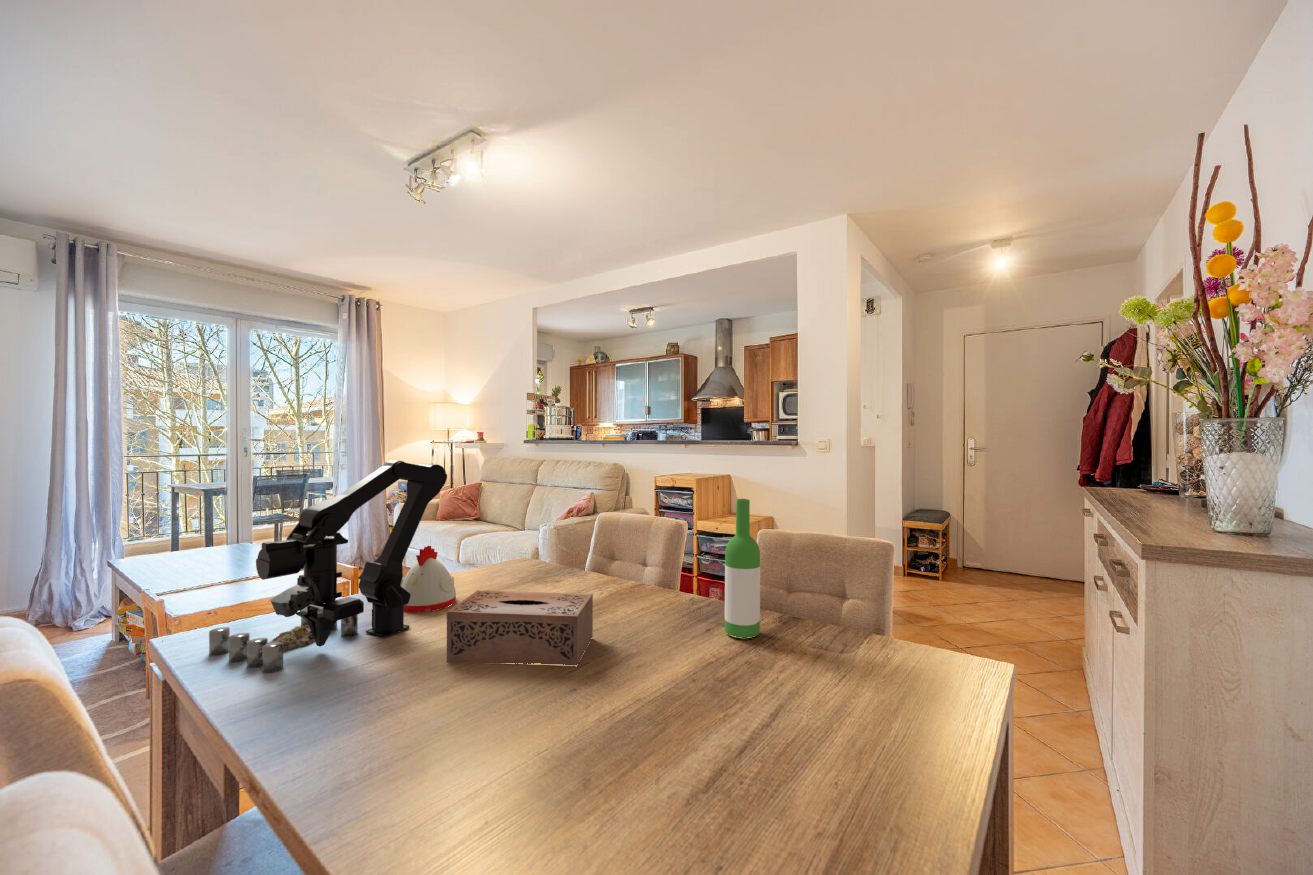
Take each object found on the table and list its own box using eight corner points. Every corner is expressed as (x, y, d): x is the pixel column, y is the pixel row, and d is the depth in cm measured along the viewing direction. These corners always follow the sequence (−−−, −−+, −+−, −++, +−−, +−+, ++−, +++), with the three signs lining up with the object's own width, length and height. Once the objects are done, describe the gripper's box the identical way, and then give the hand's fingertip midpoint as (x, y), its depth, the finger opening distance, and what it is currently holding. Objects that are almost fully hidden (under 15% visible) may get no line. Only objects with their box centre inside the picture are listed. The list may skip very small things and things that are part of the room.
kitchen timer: (385, 610, 135) (386, 550, 135) (418, 594, 149) (418, 540, 149) (437, 613, 133) (437, 553, 133) (465, 597, 147) (465, 542, 147)
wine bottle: (765, 632, 122) (766, 498, 121) (751, 643, 115) (752, 502, 115) (733, 625, 126) (734, 496, 125) (718, 636, 119) (719, 500, 119)
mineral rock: (295, 623, 120) (323, 616, 118) (300, 642, 120) (328, 636, 118) (248, 643, 110) (278, 636, 108) (253, 664, 109) (283, 657, 107)
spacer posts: (373, 635, 119) (373, 615, 118) (268, 674, 99) (268, 649, 99) (312, 620, 128) (312, 601, 128) (205, 653, 108) (205, 631, 108)
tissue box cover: (446, 663, 105) (446, 611, 105) (477, 635, 120) (477, 590, 120) (577, 668, 103) (577, 616, 103) (592, 639, 117) (592, 593, 117)
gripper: (249, 572, 106) (249, 651, 106) (309, 584, 98) (309, 670, 98) (307, 560, 116) (307, 633, 116) (365, 570, 108) (365, 648, 108)
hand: (320, 645), depth 110 cm, fingers closed
